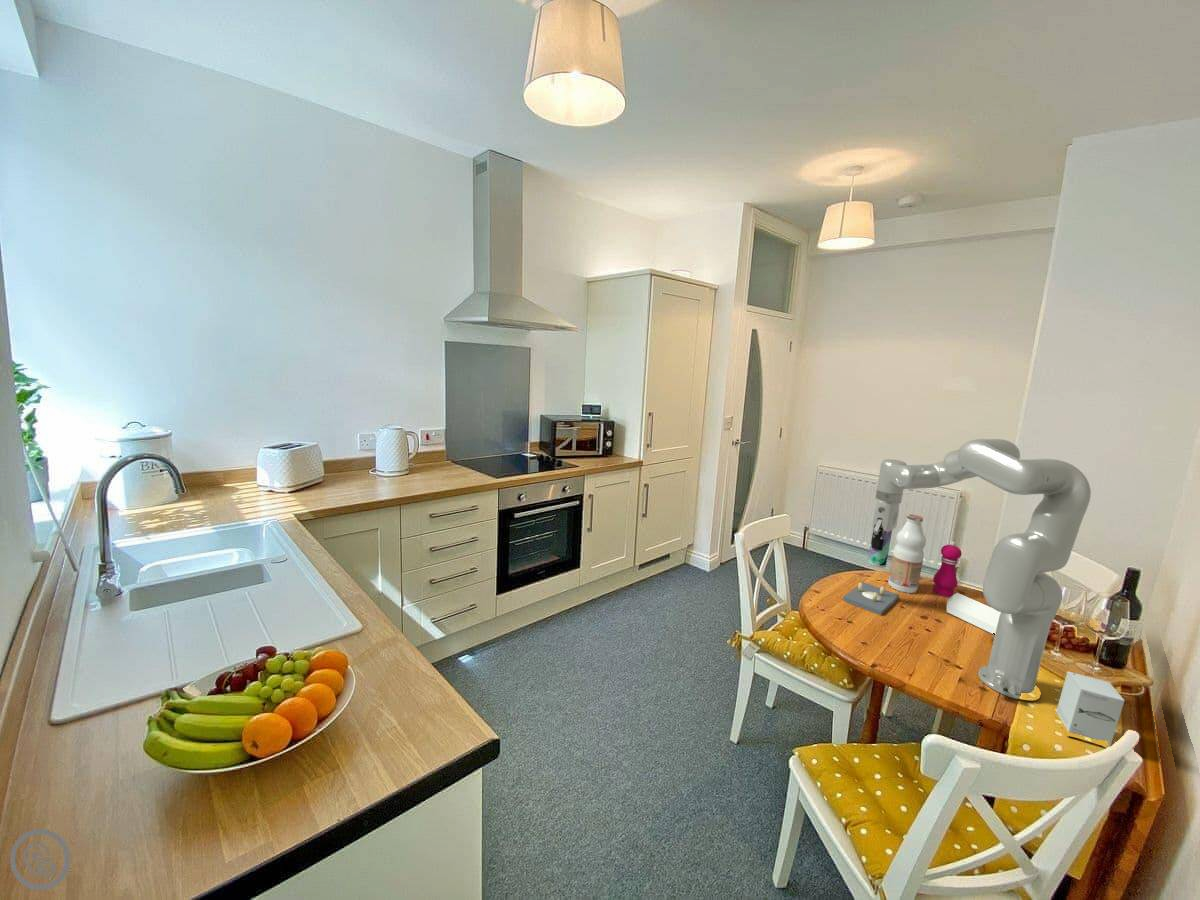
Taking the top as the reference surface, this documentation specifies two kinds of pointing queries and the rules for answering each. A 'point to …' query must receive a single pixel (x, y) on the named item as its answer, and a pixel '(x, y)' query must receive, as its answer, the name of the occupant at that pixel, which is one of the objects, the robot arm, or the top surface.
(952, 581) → the pepper mill
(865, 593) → the pin board
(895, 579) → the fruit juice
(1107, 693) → the supplement box
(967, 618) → the white long bar
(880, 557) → the spray can
